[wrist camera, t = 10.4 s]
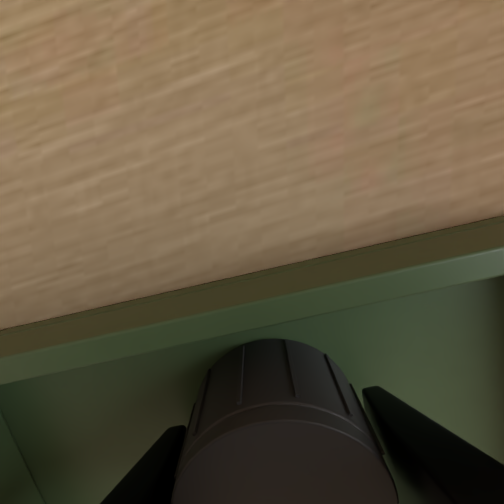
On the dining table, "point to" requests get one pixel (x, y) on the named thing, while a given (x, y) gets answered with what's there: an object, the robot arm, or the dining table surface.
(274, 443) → the flask cap
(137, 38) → the dining table surface
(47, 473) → the tray
